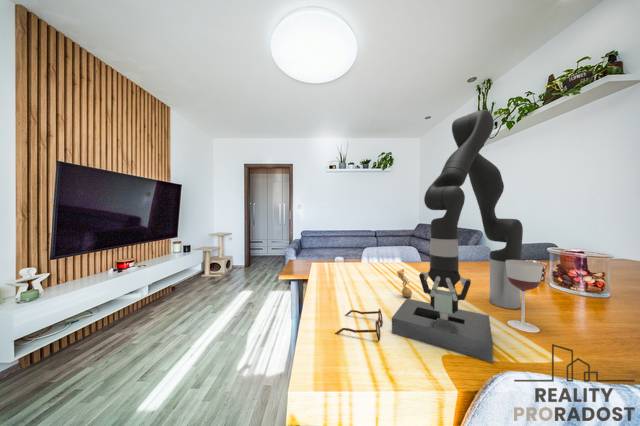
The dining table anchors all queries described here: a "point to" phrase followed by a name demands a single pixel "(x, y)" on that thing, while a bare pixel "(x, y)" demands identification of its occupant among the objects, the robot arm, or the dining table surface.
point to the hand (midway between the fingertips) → (443, 309)
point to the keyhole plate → (445, 329)
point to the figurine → (405, 290)
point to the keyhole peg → (443, 303)
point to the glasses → (365, 330)
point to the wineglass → (523, 286)
